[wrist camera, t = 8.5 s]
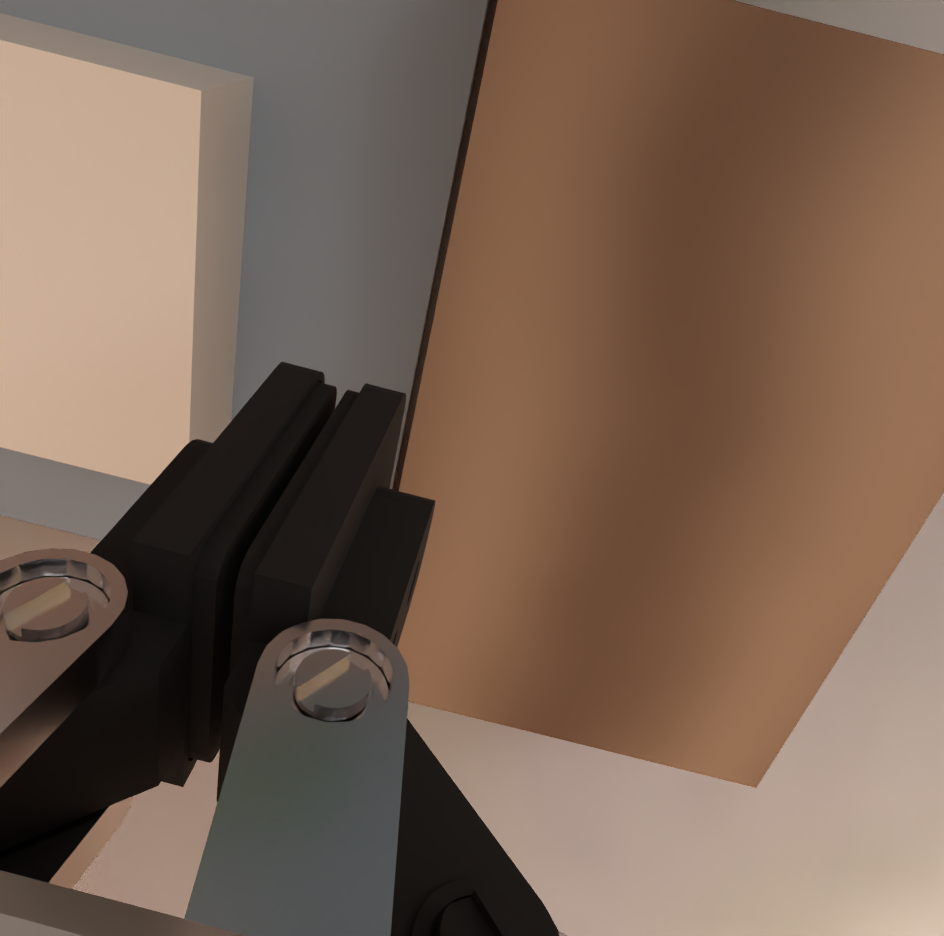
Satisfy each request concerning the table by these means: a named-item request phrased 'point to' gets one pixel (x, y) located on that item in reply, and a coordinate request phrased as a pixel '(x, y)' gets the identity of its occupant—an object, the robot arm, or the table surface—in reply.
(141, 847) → the table surface
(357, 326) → the slate mat
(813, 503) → the board
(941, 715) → the table surface
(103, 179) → the cream coaster
